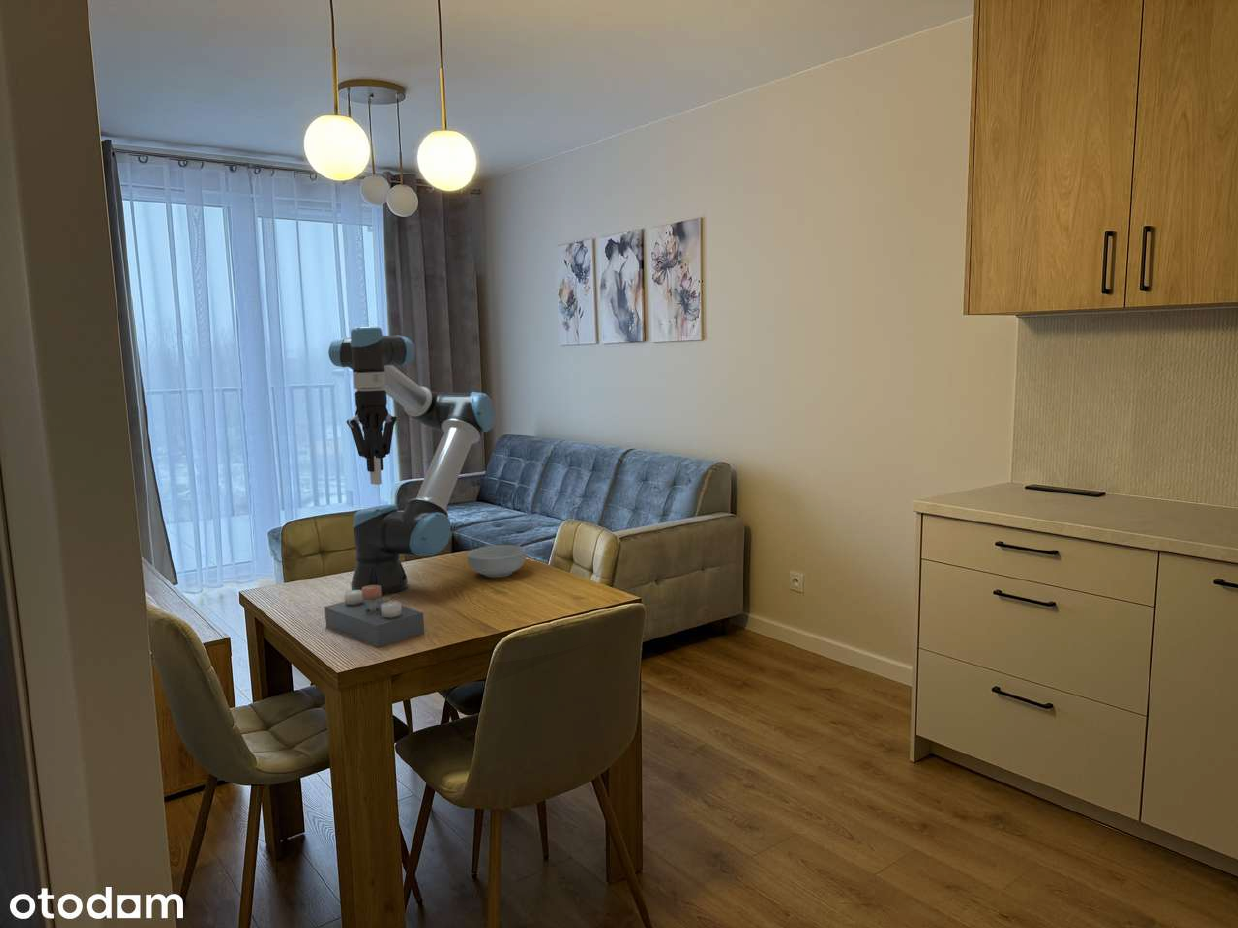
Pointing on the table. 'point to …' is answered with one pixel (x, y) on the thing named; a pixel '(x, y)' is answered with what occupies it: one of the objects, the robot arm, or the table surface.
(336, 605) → the knob panel
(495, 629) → the table surface
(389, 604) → the cream knob
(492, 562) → the cereal bowl
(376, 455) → the robot arm
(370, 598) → the rust knob middle
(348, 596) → the cream knob
